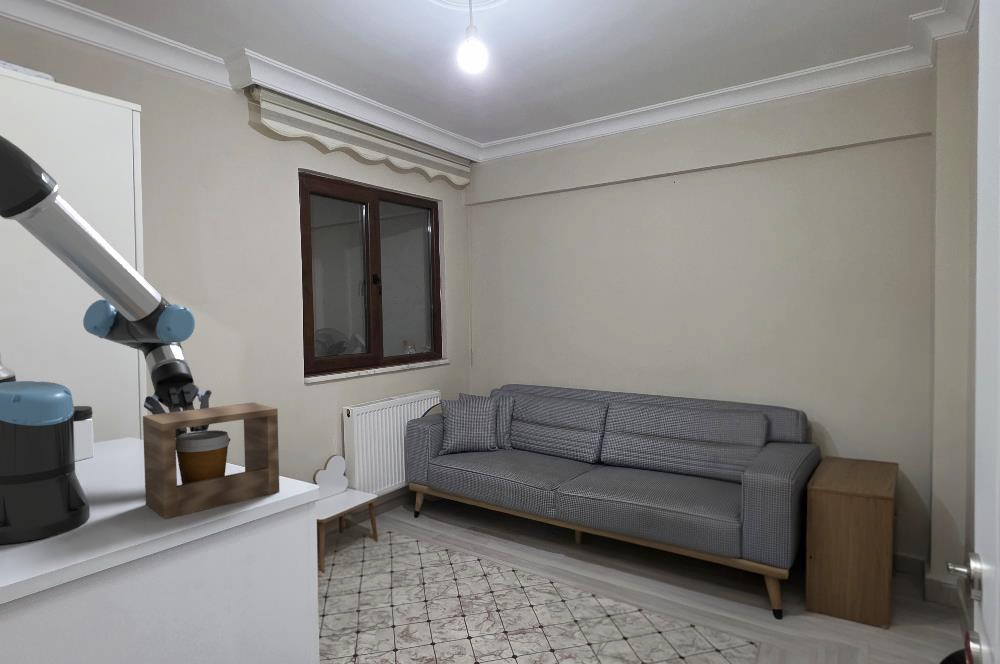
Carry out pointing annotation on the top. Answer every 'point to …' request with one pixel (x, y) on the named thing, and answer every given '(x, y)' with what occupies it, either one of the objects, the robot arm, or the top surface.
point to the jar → (83, 432)
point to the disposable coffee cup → (202, 455)
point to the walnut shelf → (215, 491)
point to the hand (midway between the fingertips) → (198, 462)
